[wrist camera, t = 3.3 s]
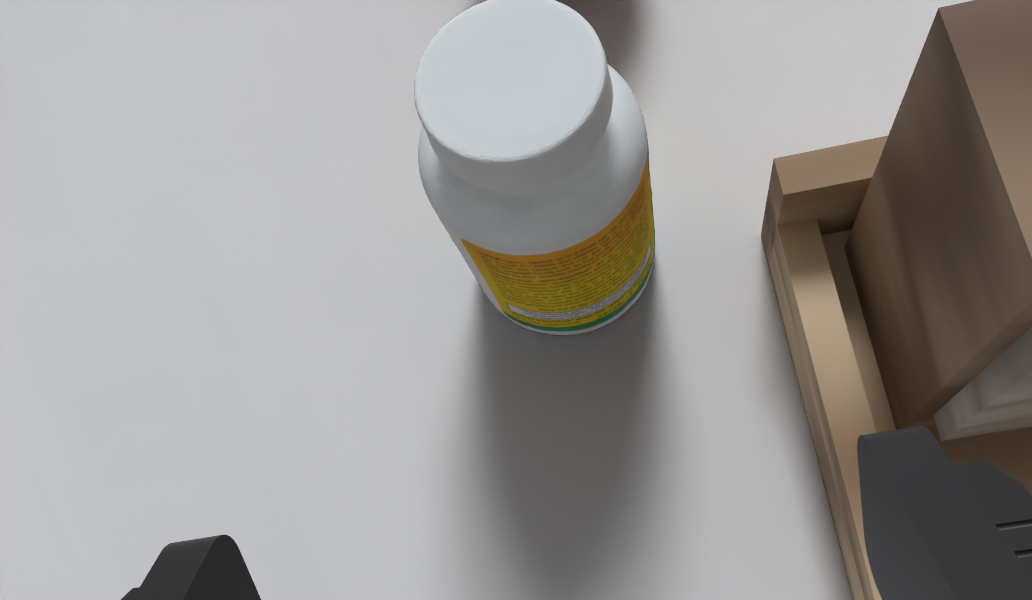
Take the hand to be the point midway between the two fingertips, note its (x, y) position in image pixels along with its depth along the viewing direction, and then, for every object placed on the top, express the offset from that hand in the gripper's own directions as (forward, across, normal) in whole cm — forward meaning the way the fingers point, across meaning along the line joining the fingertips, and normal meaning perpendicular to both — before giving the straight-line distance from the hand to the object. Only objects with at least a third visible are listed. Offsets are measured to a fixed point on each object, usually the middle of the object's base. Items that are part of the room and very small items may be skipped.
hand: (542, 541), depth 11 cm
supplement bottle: (+16, 0, +3) cm, 16 cm away
